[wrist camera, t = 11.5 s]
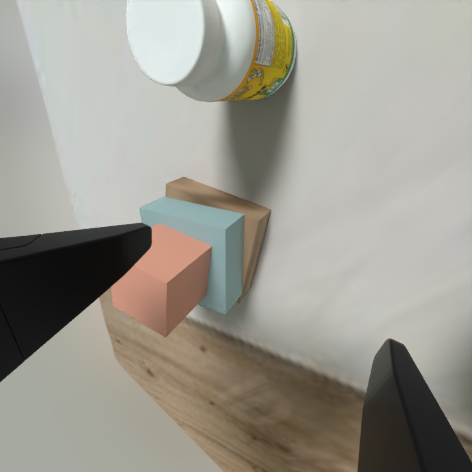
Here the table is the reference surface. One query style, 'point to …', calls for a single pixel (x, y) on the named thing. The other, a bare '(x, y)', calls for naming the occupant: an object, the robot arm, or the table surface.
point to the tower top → (212, 233)
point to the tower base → (215, 198)
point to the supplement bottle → (213, 46)
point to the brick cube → (165, 280)
